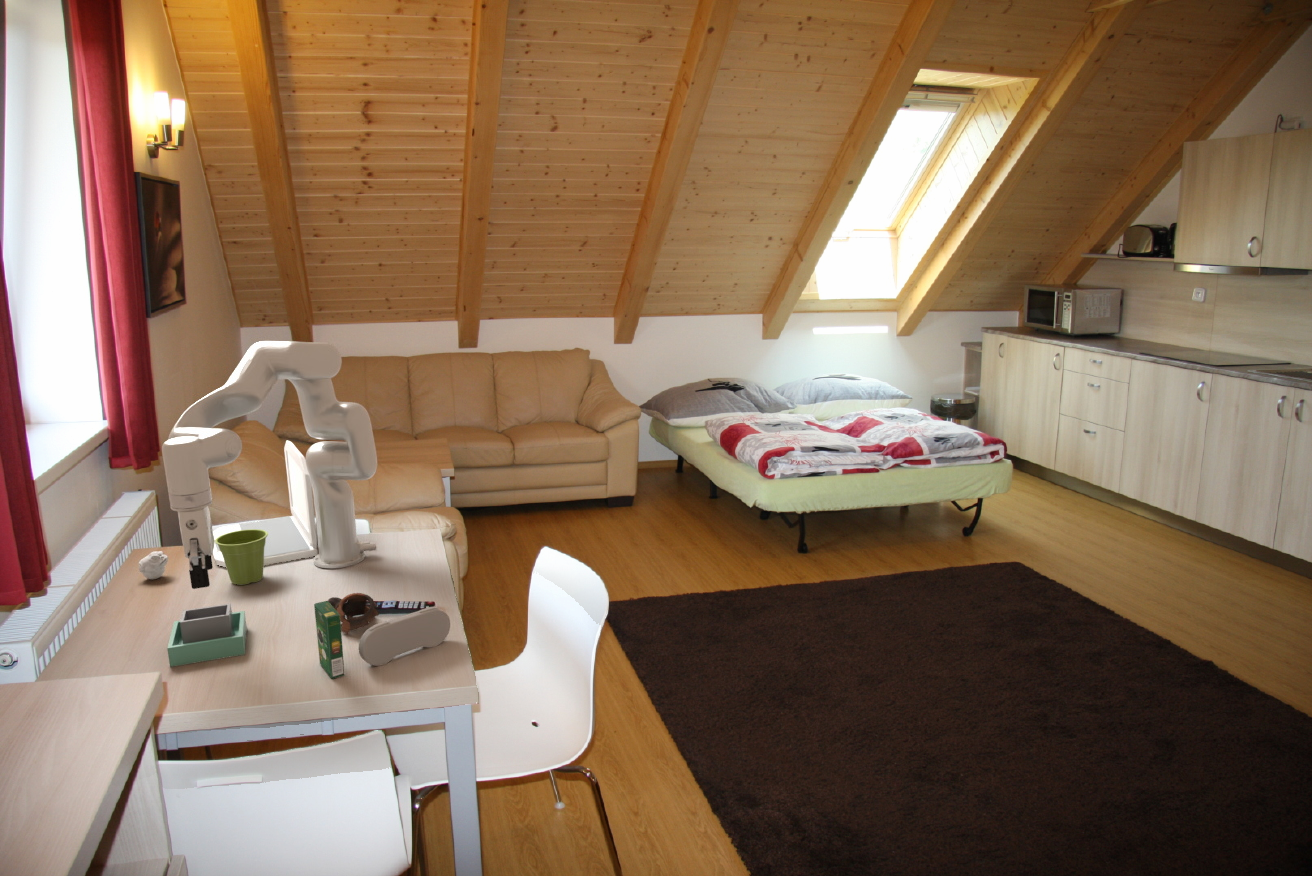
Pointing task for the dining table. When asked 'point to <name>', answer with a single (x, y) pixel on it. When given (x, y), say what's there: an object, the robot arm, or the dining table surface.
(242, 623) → the big crate
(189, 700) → the dining table surface
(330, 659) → the coffee box
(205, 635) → the small crate
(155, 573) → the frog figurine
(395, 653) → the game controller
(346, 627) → the pottery mug
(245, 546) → the plant pot
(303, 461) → the laptop
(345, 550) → the robot arm
